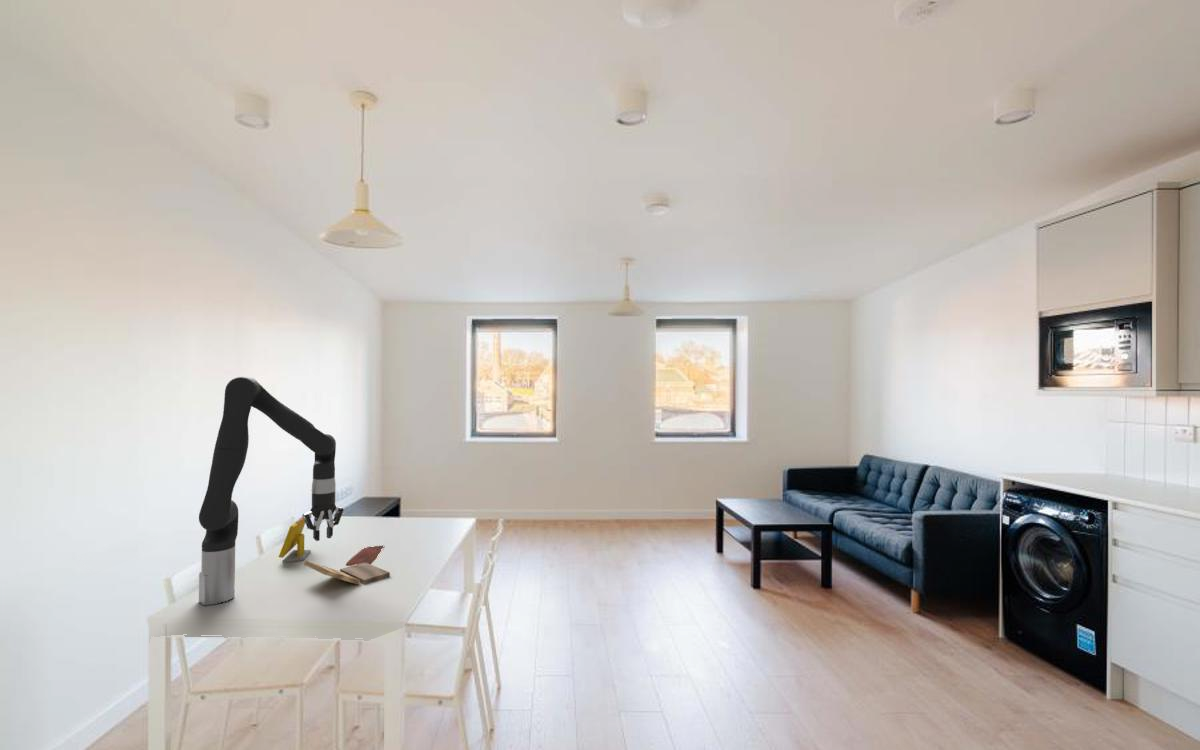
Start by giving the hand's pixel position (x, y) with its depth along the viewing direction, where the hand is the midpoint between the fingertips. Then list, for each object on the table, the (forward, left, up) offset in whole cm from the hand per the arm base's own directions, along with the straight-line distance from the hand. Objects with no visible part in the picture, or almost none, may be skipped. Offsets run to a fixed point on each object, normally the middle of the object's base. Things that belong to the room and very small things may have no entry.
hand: (323, 538), depth 191 cm
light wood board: (+3, 0, -13) cm, 14 cm away
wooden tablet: (+28, +22, -18) cm, 40 cm away
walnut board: (+16, 0, -17) cm, 23 cm away
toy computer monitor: (+9, +43, -17) cm, 47 cm away
